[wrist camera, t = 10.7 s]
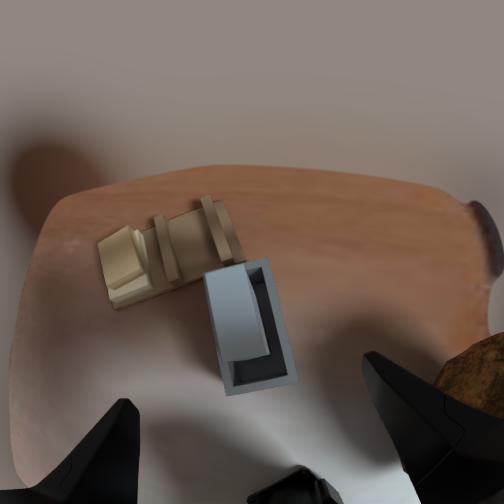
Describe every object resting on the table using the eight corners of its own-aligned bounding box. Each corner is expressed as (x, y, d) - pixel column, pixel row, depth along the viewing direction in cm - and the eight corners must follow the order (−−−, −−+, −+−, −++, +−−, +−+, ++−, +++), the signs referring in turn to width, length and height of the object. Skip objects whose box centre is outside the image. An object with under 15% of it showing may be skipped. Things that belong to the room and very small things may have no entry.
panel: (270, 354, 21) (264, 353, 12) (247, 359, 21) (222, 362, 12) (258, 303, 23) (243, 264, 14) (235, 308, 23) (205, 273, 14)
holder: (294, 376, 21) (298, 381, 17) (236, 388, 21) (226, 396, 17) (269, 275, 24) (267, 257, 20) (215, 288, 24) (202, 272, 20)
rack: (246, 261, 25) (241, 247, 22) (116, 310, 24) (97, 303, 21) (223, 202, 28) (217, 183, 25) (107, 250, 27) (90, 238, 24)
